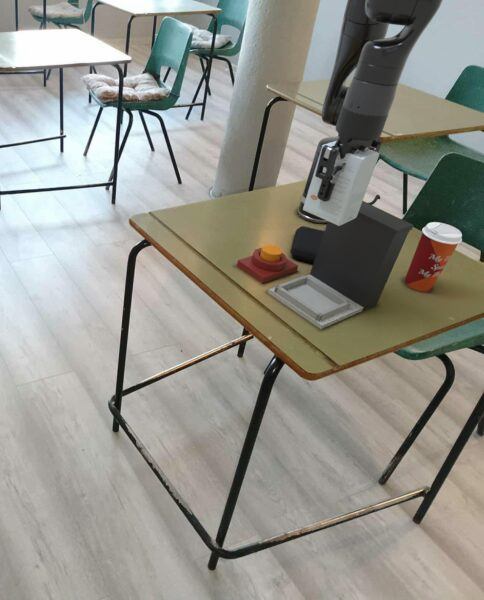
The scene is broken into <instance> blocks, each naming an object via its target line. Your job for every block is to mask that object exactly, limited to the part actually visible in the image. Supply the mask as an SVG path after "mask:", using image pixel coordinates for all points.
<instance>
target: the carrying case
mask: <svg viewBox="0 0 484 600" xmlns="http://www.w3.org/2000/svg"><path fill="white" fill-rule="evenodd" d="M324 232H325V230H322V229H317V228H314V227H309V226H304V225H303V226H299V227H298V228H297V229H296V230H295V233H294V236H293V240H292V243H291V247H290V250H289V251H290V255H291V256H292V258H294V259H296V260H300V261H304V262H307V263H312V264H313V263H314V261H315V258H316V255H317V252H318V249H319V246H320V243H321V240H322V237H323V235H324Z"/></svg>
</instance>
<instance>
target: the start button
mask: <svg viewBox="0 0 484 600" xmlns="http://www.w3.org/2000/svg"><path fill="white" fill-rule="evenodd" d="M261 248H262V249H261V253H260V257H261V258H262V259H264V260H266V261H270V262H278V261H279V260H280V258H281V254H282V253H283V249H282V248H281V247H279V246H277V245H274V244H264V245H262V247H261Z"/></svg>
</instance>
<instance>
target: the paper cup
mask: <svg viewBox="0 0 484 600" xmlns="http://www.w3.org/2000/svg"><path fill="white" fill-rule="evenodd" d="M421 232H422V233H421V236H420V237H419V241H418V244H417V245H416V249H415V251H414V253H413V256H412V259H411V262H410V264H409V267H408V270H407V272H406V275H405V278H404V283H405V285H406V286H407V287H408V288H410V289H412V290H414V291H417V292H423V293H425V292H430V291H431V290H432V288H433V287H434V285H435V284H436V282H437V281H438V279H439V277H440V275H441V274H442V272H443V270H444V269H445V267H446V265H447V264H448V262H449V260H450V259H451V257H452V255H453V254H454V252H455V250H456V249H457V247H458V245H460V244H461V243H462V242H463V238H462V237H463V234H462V232H461V230H460V229H458V228H456V227H455V226H453V225H451V224H447V223H444V222H440V221H439V222H438V221H433V222H432V221H431V222H428V223H427V224H426V225H425V226H424V227H423V228H422V230H421Z"/></svg>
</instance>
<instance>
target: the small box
mask: <svg viewBox="0 0 484 600" xmlns="http://www.w3.org/2000/svg"><path fill="white" fill-rule="evenodd" d="M336 142H337V141H335V142H331V143H328V144H324V145H322V148H323V146H325V145H327V146H330V147H331V146H334V145H335V143H336ZM322 148H321V152H322ZM321 152H320V155H321ZM380 154H381V153H380V152H379V151H378V152H375V151H372V150H369V149H368V151H366V152H362V151H359V153H357V154H351V153H347V154H346V155H345V157H344V158H343V159H341V158H340V152H338V155H337V156H338V158H337V159H336V162H335V164H336V165H338V166H341V165H342V164H343V163H346V166H345V168H344V171H343V172H341V173H340V174H339V177H338V178H337V180H336V181H335V182H334V183H335V185H334V188H333V191H332V194H331V196H330V199H329V201H326V202H324V201H322V200H320V199H318V197H317V195H318V191H319V188H320V185H321V182H322V179H320V178H318V177H316V176H315V174H316V170H317V167H318V163H319V159H320V155H319V158H318V162H317V165H316V168H315V171H314V175H313V178H312V181H311V184H310V187H309V190H308V194H307V197H306V200H305V204H304V207H303V210H304V211H307V212H309V213H311V214H313V215H316V216H318V217H320V218H322V219H325V220H327V221H329V222H331V223H334V224H336V225H338V226H340V225H342V224H344V223H347V222H349V221H351V220H353V219H355V218H356V217H357V215H358V212H359V209H360V206H361V204H362V201H364V198H365V195H366V193H367V190H368V187H369V185H370V182H371V178H372V176H373V173H374V170H375V168H376V165H377V162H378V159H379V157H380ZM325 169H326V168H325V167H324V168H323V172H324V170H325ZM335 171H336V169H333V172H332V175H333V174H334V172H335Z"/></svg>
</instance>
